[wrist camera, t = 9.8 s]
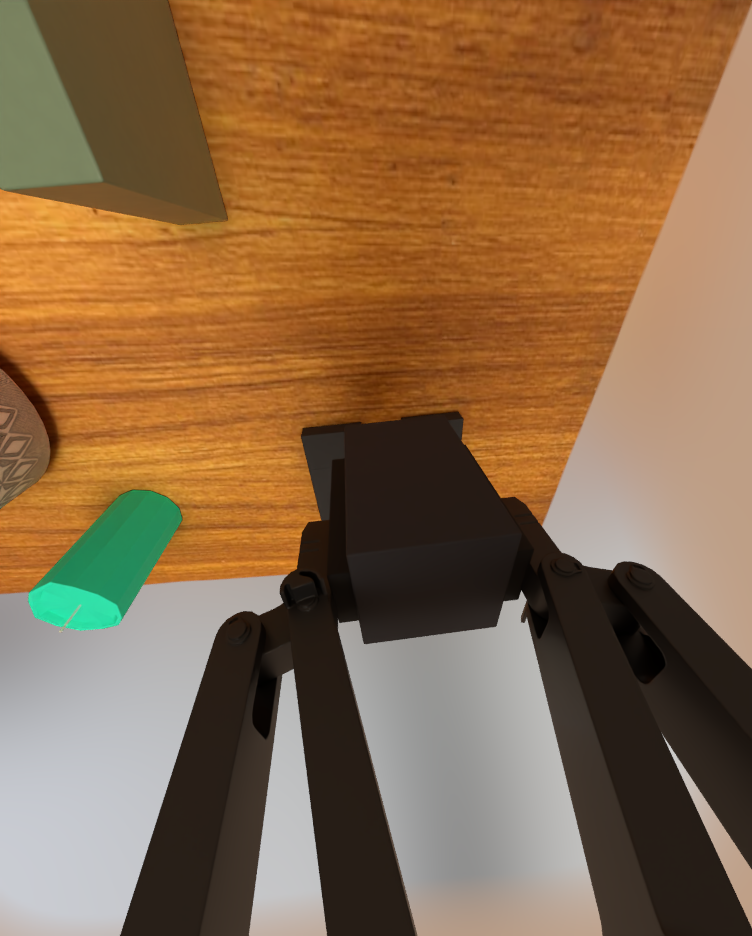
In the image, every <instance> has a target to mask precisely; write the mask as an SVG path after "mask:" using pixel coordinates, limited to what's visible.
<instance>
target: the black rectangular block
mask: <svg viewBox="0 0 752 936" xmlns="http://www.w3.org/2000/svg"><path fill="white" fill-rule="evenodd" d="M344 447H345V510H346V557H347V562H348V567H349V572H350V577H351V582H352V587H353V592H354V597H355V602H356V607H357V612H358V617H359V622H360V627H361V632H362V638H363V642H364V644H370V643H377V642H385V641H393V640H400V639H407V638H415V637H422V636H429V635H437V634H444V633H452V632H460V631H467V630H475V629H482V628H489V627H496V626H497V622H498V619H499V615H500V611H501V608H502V604H503V601H504V597H505V594H506V590H507V587H508V583H509V579H510V576H511V572H512V569H513V565H514V561H515V558H516V554H517V551H518V547H519V544H520V540H521V536H522V533H521V531H520V530H519V528H518V527H517V525H516V524H515V522H514V521H513V519H512V518H511V516H510V515H509V513H508V511H507V510H506V508H505V507H504V505H503V504H502V502H501V501H500V499H499V498H498V496H497V495H496V493H495V492H494V490H493V489H492V487H491V486H490V484H489V482H488V481H487V479H486V478H485V476H484V475H483V473H482V472H481V470H480V469H479V467H478V466H477V464H476V463H475V461H474V460H473V458H472V456H471V455H470V453H469V452H468V450H467V449H466V447H465V446H464V444H463V443H462V441H461V440H460V438H459V437H458V435H457V434H456V432H455V431H454V429H453V427H452V426H451V424H450V423H449V421H448V420H447V418H446V417H445V415H441V416H432V417H423V418H414V419H404V420H395V421H386V422H377V423H368V424H359V425H350V426H345V427H344Z"/></svg>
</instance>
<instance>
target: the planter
mask: <svg viewBox="0 0 752 936" xmlns="http://www.w3.org/2000/svg"><path fill="white" fill-rule="evenodd" d="M49 459H50V444H49V438H48V435H47V432H46V429H45V426H44V424H43V422H42V420H41V418H40V416H39V414H38V413H37V411H36V409H35V407H34V406H33V405H32V403H31V402H30V401H29V399H28V398H27V396H26V395H25V394H24V392H23V391H22V390H21V389H20V388H19V387H18V386H17V385H16V383H15V382H14V381H13V380H12V379H11V378H10V377H9V376H8V375H7V374H6V373H5V372H4V371H3V370H2V369H1V368H0V509H1V508H2V507H3V506H5V505H6V504H7V503H9V502H10V501H12V500H13V499H14V498H16V497H17V496H18V495H20V494H21V493H22V492H24V491H25V490H26V489H28V488H29V487H31V486H32V485H33V484H35V483H36V482H37V481H38V480H39V479H40V478H41V477H42V475H43V474H44V473H45V471H46V469H47V466H48V464H49Z"/></svg>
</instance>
